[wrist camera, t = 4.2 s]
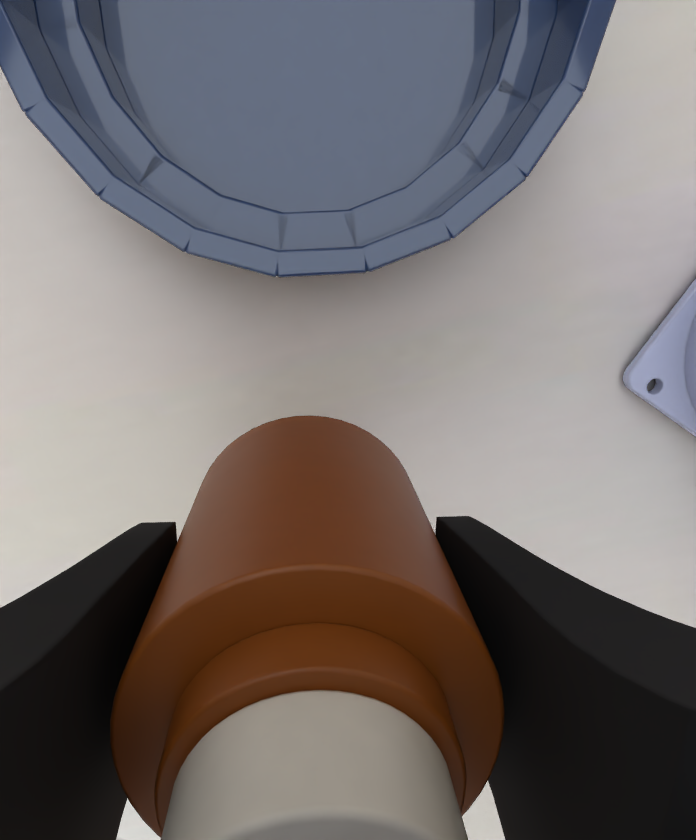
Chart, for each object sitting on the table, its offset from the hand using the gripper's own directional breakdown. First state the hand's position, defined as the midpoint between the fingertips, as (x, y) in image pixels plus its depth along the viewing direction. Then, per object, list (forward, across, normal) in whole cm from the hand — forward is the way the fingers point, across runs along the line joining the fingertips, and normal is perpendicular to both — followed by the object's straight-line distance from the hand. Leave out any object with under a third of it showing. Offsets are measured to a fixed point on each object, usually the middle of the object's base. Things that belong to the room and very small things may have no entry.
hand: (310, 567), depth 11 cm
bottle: (+2, 0, 0) cm, 2 cm away
